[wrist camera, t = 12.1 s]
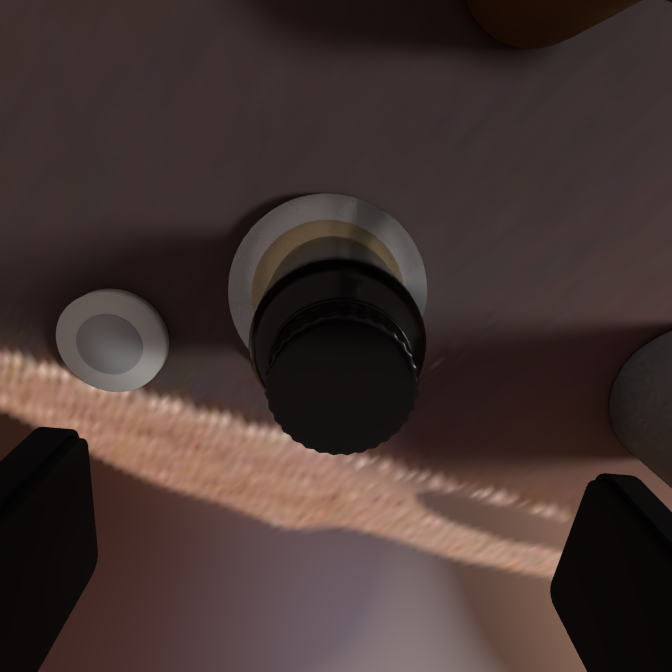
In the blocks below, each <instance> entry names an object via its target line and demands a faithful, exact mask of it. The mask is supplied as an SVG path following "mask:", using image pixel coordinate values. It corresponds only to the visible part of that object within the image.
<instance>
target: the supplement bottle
mask: <svg viewBox="0 0 672 672" xmlns="http://www.w3.org/2000/svg"><path fill="white" fill-rule="evenodd" d="M425 352H426V332H425V327H424V322H423V319H422V316H421V313H420V311H419V308H418V306H417V304H416V303H415V301H414V299H413V297H412V296H411V294H410V293H409V291H408V290H407V289H406V287H405V286H404V285H403V284H402V283H401V281H400V280H399V279H398V278H397V277H396V275H395V274H394V273H393V272H392V271H391V269H390V268H389V267H388V266H387V264H386V263H385V262H384V261H383V260H382V259H381V258H380V257H379V256H378V255H377V254H376V253H375V252H374V251H373V250H372V249H370V248H369V247H367V246H366V245H364V244H362V243H360V242H358V241H355V240H353V239H349V238H345V237H339V236H326V237H320V238H315V239H312V240H309V241H307V242H305V243H303V244H301V245H299V246H298V247H296V248H295V249H293V250H292V251H291V252H290V253H289V254H288V255H287V256H286V257H285V258H284V259H283V260H282V261H281V263H280V264H279V266H278V267H277V269H276V271H275V272H274V274H273V276H272V278H271V280H270V282H269V284H268V286H267V288H266V290H265V292H264V294H263V296H262V298H261V300H260V302H259V305H258V307H257V309H256V311H255V314H254V317H253V319H252V323H251V328H250V333H249V356H250V361H251V365H252V369H253V372H254V374H255V377H256V379H257V381H258V383H259V385H260V387H261V388H262V390H263V391H264V392H265V396H266V397H267V399H268V401H269V402H268V407H269V409H270V411H271V412H272V413H273V414H274V419H275V421H276V422H277V423H278V424H280V425H281V427H282V430H283V432H285V433H286V434H289V435H290V436H291V437H292V439H293V440H294V441H296V442H299V443H302V444H303V446H304V447H305V448H309V449H314V450H316V451H317V452H319V453H329V454H332V455H337V454H344V455H350V454H352V453H354V452H357V453H362V452H364V451H366V450H367V449H372V448H376V447H377V446H378V445H379V444H380V443H382V442H386V441H388V440H389V439H390V437H391V436H392V435H393V434H395V433H397V432H399V430H400V428H401V425H403V424H404V423H406V422H407V421H408V417H409V414H410V412H412V411H413V409H414V401H415V400H416V399H417V397H418V390H417V387H418V384H419V375H420V372H421V369H422V366H423V363H424V359H425Z"/></svg>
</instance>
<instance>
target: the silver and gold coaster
mask: <svg viewBox="0 0 672 672" xmlns="http://www.w3.org/2000/svg"><path fill="white" fill-rule="evenodd" d="M326 236H339V237H345V238H349V239H353V240H355V241H358V242H360V243H362V244H364V245H366V246H367V247H369V248H370V249H372V250H373V251H374V252H375V253H376V254H377V255H378V256H379V257H380V258H381V259H382V260H383V261H384V262H385V263H386V264H387V266H388V267H389V268H390V269H391V271H392V272H393V273H394V274H395V275H396V277H397V278H398V279H399V280H400V281H401V283H402V284H403V285H404V286H405V287H406V289H407V290H408V291H409V293H410V294H411V296H412V297H413V299H414V301H415V303H416V304H417V306H418V308H419V311H420V313H421V316H422V319H423V316H424V312H425V308H426V300H427V280H426V274H425V269H424V265H423V262H422V259H421V256H420V254H419V252H418V249H417V247H416V245H415V244H414V242H413V240H412V239H411V237H410V236H409V234H408V233H407V232H406V231H405V229H404V228H403V227H402V226H401V225H400V224H399V223H398V222H397V221H396V220H395V219H394V218H393V217H392V216H390V215H389V214H388V213H386V212H385V211H383V210H382V209H380V208H379V207H377V206H376V205H374V204H372V203H370V202H367V201H365V200H363V199H360V198H357V197H354V196H350V195H344V194H339V193H318V194H310V195H306V196H301V197H298V198H295V199H292V200H290V201H287V202H285V203H283V204H281V205H280V206H278V207H276V208H274V209H273V210H272V211H270V212H269V213H268V214H266V215H265V216H263V217H262V218H261V219H260V220H259V221H258V222H257V223H256V224H255V225H254V226H253V227H252V228H251V229H250V231H249V232H248V233H247V235H246V236H245V237H244V239H243V240H242V242H241V244H240V246H239V247H238V249H237V252H236V254H235V257H234V259H233V262H232V266H231V270H230V274H229V283H228V300H229V306H230V312H231V315H232V319H233V322H234V325H235V327H236V329H237V331H238V333H239V336H240V337H241V339H242V340H243V342H244V344H245V345H246V347H247V348H248V349H249V333H250V328H251V323H252V319H253V317H254V314H255V311H256V309H257V307H258V305H259V302H260V300H261V298H262V296H263V294H264V292H265V290H266V288H267V286H268V284H269V282H270V280H271V278H272V276H273V274H274V272H275V271H276V269H277V267H278V266H279V264H280V263H281V261H282V260H283V259H284V258H285V257H286V256H287V255H288V254H289V253H290V252H291V251H292V250H293V249H295V248H296V247H298V246H299V245H301V244H303V243H305V242H307V241H309V240H312V239H315V238H320V237H326Z"/></svg>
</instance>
